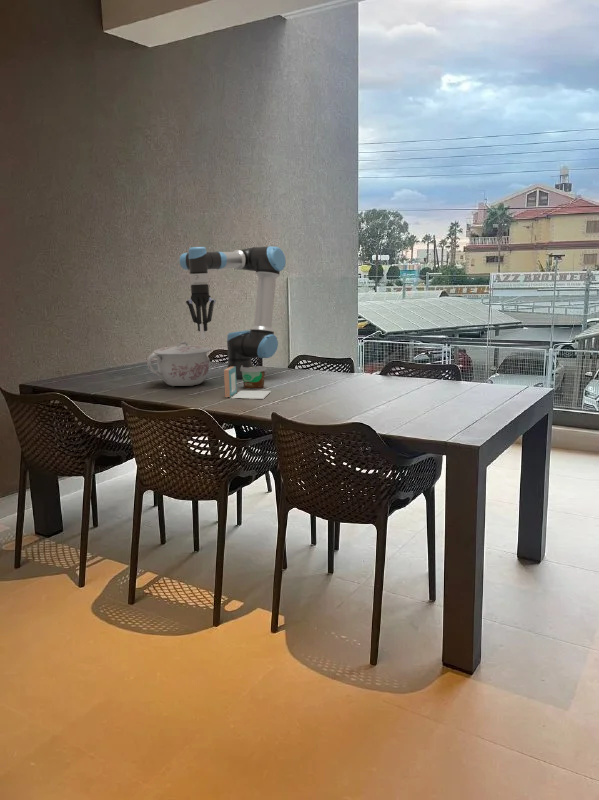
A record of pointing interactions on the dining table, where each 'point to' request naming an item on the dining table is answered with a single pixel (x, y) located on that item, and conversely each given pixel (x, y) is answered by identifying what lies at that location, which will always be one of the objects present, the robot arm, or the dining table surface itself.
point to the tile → (230, 381)
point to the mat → (251, 394)
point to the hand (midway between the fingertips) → (203, 338)
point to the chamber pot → (181, 364)
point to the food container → (253, 376)
